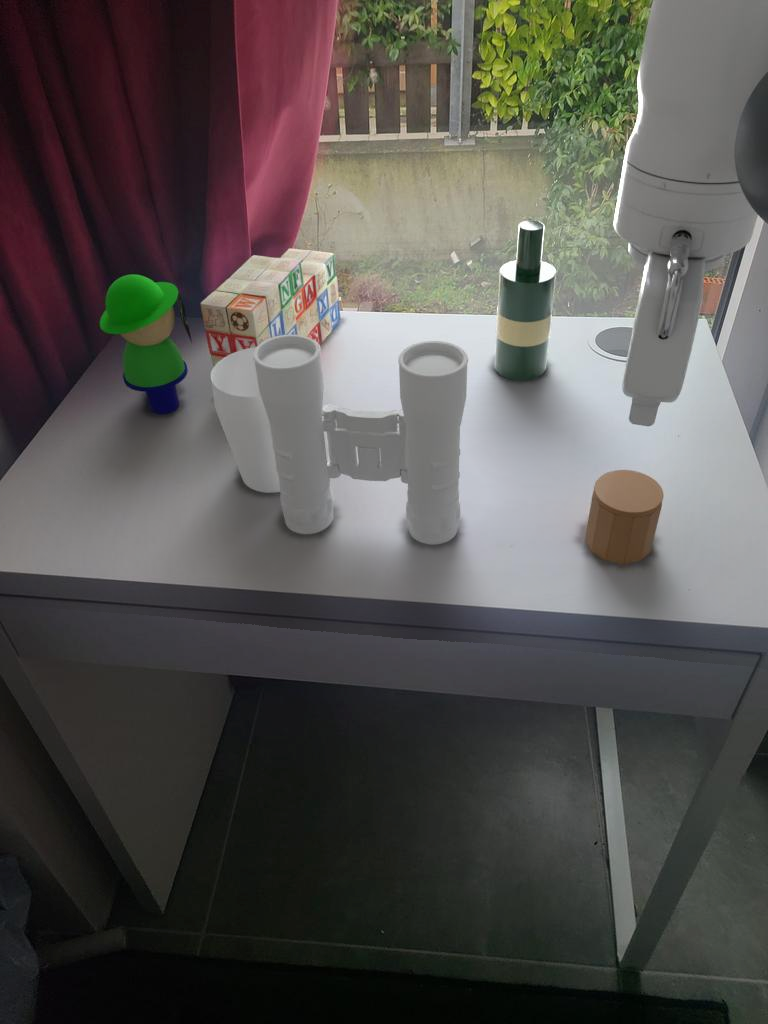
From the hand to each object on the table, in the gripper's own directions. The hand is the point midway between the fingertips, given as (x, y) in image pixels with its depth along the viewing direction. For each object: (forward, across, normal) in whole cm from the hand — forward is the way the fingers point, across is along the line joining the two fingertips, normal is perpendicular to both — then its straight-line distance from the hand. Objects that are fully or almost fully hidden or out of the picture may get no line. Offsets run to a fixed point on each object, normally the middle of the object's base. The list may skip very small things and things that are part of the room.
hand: (646, 385), depth 62 cm
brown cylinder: (+16, 0, 0) cm, 16 cm away
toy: (+17, +10, +52) cm, 55 cm away
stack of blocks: (+17, +22, +42) cm, 50 cm away
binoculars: (+17, -4, +22) cm, 28 cm away
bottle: (+17, +27, +14) cm, 34 cm away
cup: (+17, +1, +34) cm, 38 cm away
